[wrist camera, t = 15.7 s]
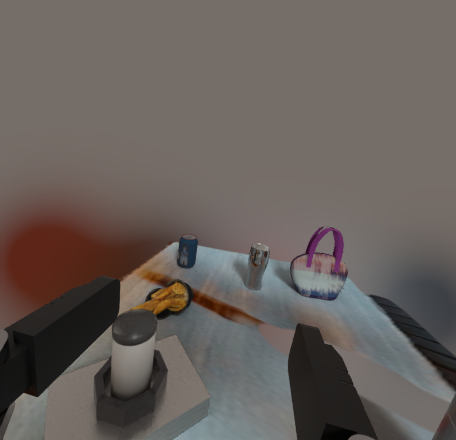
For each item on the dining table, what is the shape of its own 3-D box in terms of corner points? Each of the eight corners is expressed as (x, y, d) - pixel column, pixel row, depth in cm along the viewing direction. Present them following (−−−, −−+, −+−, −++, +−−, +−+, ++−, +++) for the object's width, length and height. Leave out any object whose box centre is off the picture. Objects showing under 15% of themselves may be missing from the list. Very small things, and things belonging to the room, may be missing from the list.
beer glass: (241, 280, 78) (248, 242, 74) (258, 280, 79) (266, 243, 76) (246, 290, 71) (254, 249, 68) (265, 291, 73) (274, 251, 69)
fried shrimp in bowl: (207, 295, 57) (157, 305, 42) (183, 323, 59) (127, 343, 43) (188, 271, 62) (138, 271, 46) (167, 298, 63) (111, 307, 48)
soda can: (192, 261, 87) (196, 233, 84) (196, 269, 81) (200, 239, 78) (175, 261, 84) (178, 233, 82) (178, 269, 78) (181, 239, 75)
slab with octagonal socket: (173, 350, 44) (177, 322, 43) (207, 415, 34) (213, 381, 32) (50, 400, 32) (48, 363, 31) (40, 527, 22) (37, 481, 20)
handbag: (335, 288, 83) (353, 228, 77) (348, 304, 73) (371, 236, 68) (282, 280, 83) (296, 219, 77) (288, 294, 73) (305, 226, 68)
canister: (145, 366, 36) (150, 305, 33) (155, 396, 31) (162, 329, 29) (107, 382, 32) (109, 315, 30) (113, 419, 28) (116, 344, 25)
